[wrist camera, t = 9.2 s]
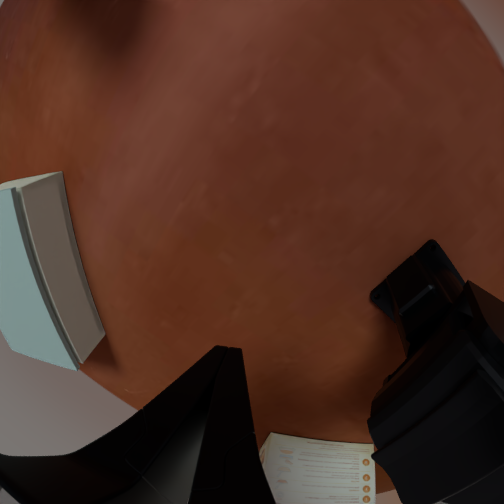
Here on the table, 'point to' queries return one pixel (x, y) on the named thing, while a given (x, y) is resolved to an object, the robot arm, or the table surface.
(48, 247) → the cream box
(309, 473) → the coffeecake box
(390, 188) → the table surface
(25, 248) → the box lid
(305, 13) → the table surface
